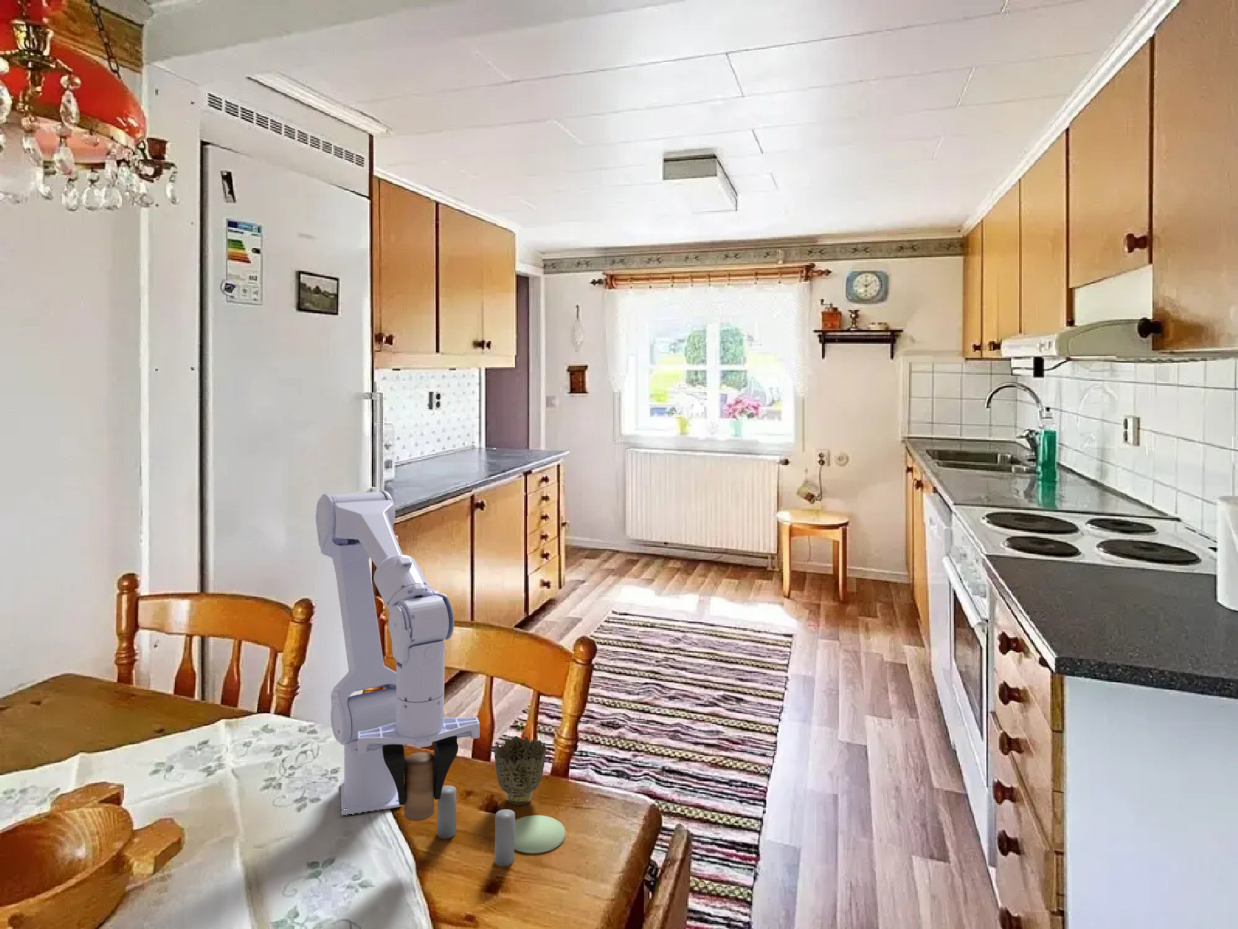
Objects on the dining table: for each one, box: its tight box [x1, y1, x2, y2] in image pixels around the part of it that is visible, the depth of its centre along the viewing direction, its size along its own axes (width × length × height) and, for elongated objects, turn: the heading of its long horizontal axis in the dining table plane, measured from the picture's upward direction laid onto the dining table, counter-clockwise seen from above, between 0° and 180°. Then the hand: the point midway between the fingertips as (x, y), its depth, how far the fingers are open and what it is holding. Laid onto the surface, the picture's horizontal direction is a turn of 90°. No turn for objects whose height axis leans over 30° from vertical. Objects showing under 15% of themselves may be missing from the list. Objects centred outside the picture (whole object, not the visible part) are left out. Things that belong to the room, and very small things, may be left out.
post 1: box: [436, 785, 457, 840], centre depth 98 cm, size 2×2×6 cm
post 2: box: [494, 808, 516, 867], centre depth 93 cm, size 2×2×6 cm
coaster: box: [514, 814, 566, 854], centre depth 99 cm, size 8×8×1 cm
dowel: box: [403, 751, 435, 822], centre depth 93 cm, size 4×4×7 cm
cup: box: [493, 735, 548, 806], centre depth 107 cm, size 8×7×8 cm
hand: (419, 798), depth 93 cm, fingers closed on dowel, 4 cm apart
